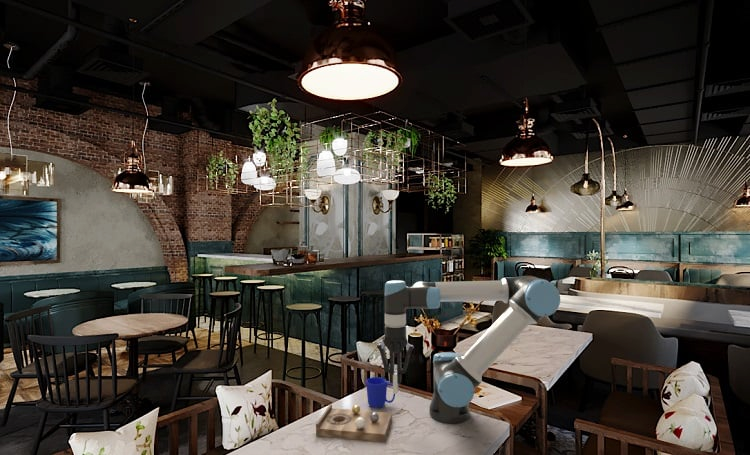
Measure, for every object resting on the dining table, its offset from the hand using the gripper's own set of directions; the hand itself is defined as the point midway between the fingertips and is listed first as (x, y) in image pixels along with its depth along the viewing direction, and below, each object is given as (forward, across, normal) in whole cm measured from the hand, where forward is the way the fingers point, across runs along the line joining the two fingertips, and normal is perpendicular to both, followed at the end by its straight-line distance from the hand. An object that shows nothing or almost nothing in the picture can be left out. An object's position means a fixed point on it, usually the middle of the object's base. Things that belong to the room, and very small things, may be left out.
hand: (395, 392), depth 141 cm
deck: (+14, +15, 0) cm, 20 cm away
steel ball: (+10, +8, 0) cm, 12 cm away
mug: (+14, +9, -19) cm, 25 cm away
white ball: (+9, +12, +5) cm, 16 cm away
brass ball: (+10, +16, -5) cm, 19 cm away
